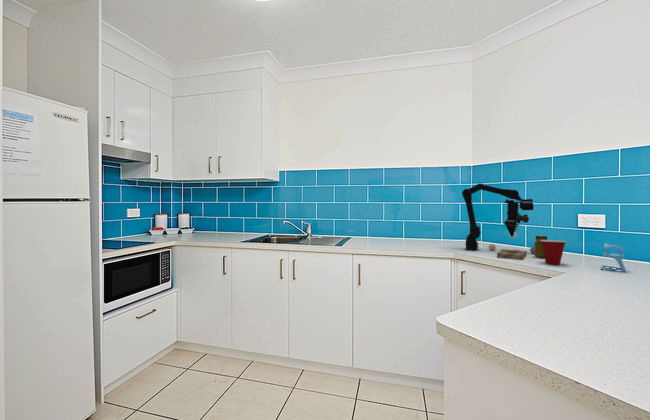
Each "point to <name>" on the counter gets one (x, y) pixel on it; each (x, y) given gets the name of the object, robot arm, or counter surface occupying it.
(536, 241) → the condiment
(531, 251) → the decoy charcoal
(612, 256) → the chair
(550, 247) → the plastic cup
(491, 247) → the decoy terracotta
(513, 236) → the steel ball
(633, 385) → the counter surface
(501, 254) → the brown recessed board
